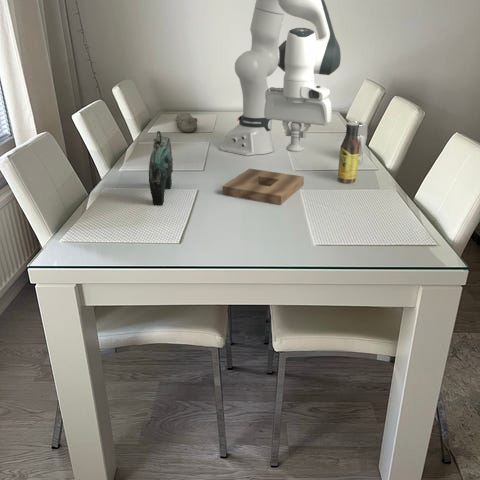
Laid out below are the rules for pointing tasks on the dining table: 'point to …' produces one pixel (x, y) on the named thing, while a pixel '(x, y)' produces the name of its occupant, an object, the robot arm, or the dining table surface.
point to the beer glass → (362, 139)
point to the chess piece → (295, 138)
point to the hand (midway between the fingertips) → (295, 136)
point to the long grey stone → (186, 122)
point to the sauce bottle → (349, 154)
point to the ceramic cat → (160, 168)
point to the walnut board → (263, 186)
